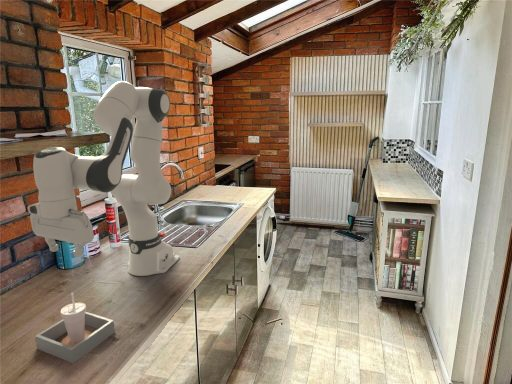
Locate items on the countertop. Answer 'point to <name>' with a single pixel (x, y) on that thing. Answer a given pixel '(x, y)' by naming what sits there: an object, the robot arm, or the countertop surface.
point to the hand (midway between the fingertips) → (66, 253)
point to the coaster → (68, 343)
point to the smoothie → (74, 320)
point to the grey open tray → (82, 348)
